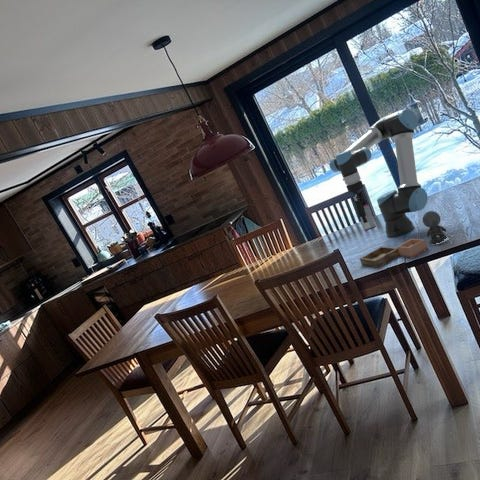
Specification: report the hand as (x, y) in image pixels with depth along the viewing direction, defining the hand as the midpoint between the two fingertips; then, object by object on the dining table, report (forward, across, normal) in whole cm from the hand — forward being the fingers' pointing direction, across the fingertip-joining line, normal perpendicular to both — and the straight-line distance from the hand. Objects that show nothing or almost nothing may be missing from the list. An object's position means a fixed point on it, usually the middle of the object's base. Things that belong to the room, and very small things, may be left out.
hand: (369, 225), depth 216 cm
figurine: (+18, -4, +27) cm, 33 cm away
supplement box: (+1, 0, 0) cm, 1 cm away
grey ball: (+17, +3, +16) cm, 23 cm away
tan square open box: (+18, +3, +16) cm, 24 cm away
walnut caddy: (+18, +1, 0) cm, 18 cm away
